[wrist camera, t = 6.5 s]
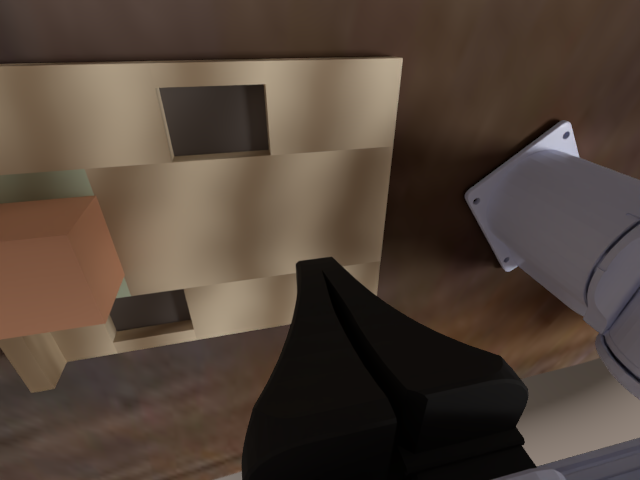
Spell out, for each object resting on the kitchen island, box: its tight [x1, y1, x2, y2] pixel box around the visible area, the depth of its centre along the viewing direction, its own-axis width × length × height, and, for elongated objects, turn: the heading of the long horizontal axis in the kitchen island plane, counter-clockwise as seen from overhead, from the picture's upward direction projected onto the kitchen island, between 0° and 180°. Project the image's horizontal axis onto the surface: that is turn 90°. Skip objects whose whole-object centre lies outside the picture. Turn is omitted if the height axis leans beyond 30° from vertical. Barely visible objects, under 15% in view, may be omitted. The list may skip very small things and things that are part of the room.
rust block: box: [0, 195, 125, 340], centre depth 17 cm, size 5×5×4 cm
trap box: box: [0, 56, 403, 393], centre depth 20 cm, size 22×17×3 cm
